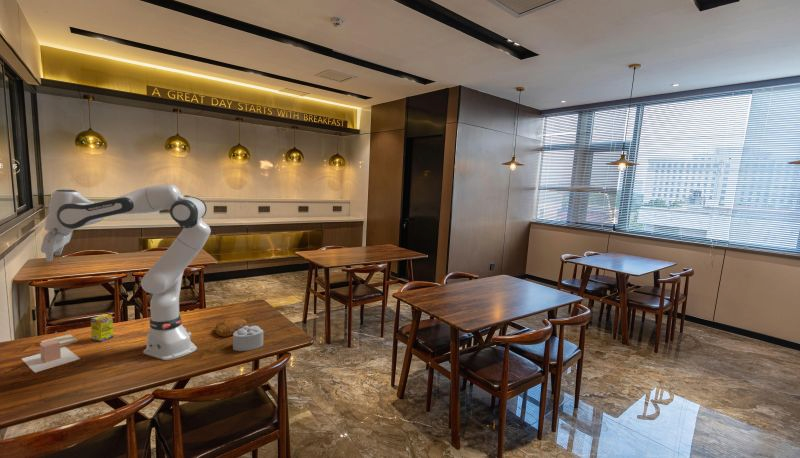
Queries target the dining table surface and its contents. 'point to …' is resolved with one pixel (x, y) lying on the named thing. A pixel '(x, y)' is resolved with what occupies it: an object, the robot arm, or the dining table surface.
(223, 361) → the dining table surface
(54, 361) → the mat
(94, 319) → the supplement box
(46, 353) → the terracotta block
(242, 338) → the lumpy-topped squat cylinder
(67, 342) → the coaster
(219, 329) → the croissant
